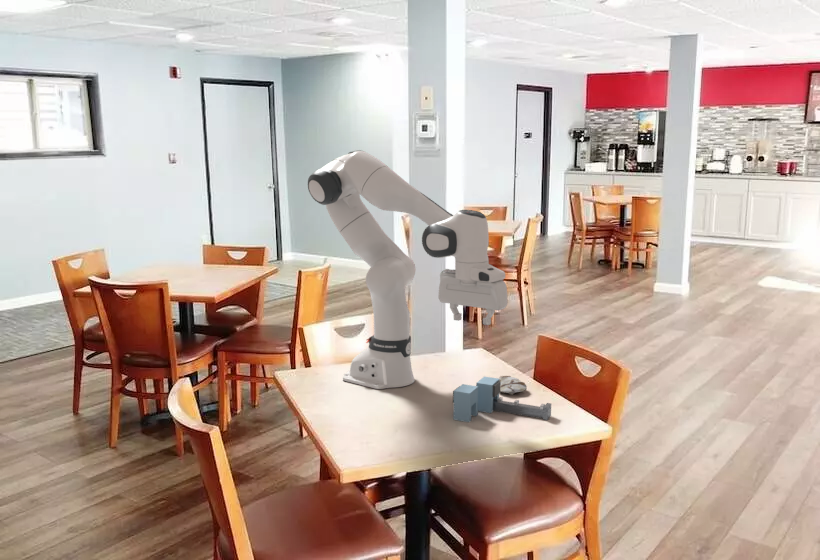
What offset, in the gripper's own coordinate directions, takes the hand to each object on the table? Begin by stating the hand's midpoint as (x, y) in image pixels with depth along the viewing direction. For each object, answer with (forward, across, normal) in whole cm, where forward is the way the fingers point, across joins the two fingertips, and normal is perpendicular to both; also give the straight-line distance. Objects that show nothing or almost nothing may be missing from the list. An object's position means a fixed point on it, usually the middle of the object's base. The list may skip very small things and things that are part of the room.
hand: (472, 322), depth 202 cm
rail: (+26, +7, +7) cm, 28 cm away
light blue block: (+26, 0, -4) cm, 26 cm away
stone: (+26, -2, +23) cm, 35 cm away
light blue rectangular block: (+26, +1, +6) cm, 26 cm away
